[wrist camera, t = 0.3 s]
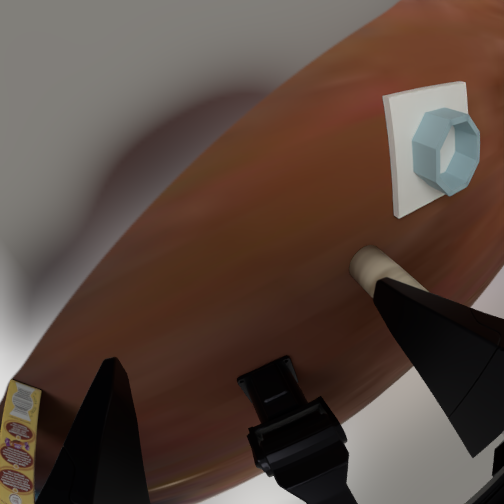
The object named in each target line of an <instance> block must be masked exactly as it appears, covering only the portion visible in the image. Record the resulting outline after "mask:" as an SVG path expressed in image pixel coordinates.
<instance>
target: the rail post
mask: <svg viewBox="0 0 504 504" xmlns="http://www.w3.org/2000/svg"><path fill="white" fill-rule="evenodd" d="M349 272H350V275H351V276H352V277H353V278H354V279H355V280H356V281H357V282H358V283H359V284H360V285H361V286H362V287H363V289H364V290H365V291H366V292H367V293H368V294H369V295H370V296H371V297H372V298H373V295H374V290H375V284H376V281H377V280H379V279H381V278H384V277H389V278H391V279H394V280H397V281H400V282H403V283H405V284H408V285H411V286H414V287H416V288H419V289H422V290H424V291H427V290H426V289H425V288H424V287H423V286H422V285H421V284H420V283H418V282H417V281H416V280H415V279H414V278H413V277H412V276H410V275H409V274H408V273H407V272H406V271H405V270H404V269H402V268H401V267H400V266H399V265H398V264H397V263H395V262H394V261H393V260H392V259H391V258H390V257H388V256H387V255H386V254H385V253H384V252H382V251H381V250H380V249H379V248H378V247H376V246H374V245H368V246H365V247H363V248H362V249H360V250H359V251H358V252H357V253H356V254H355V255H354V257H353V258H352V260H351V263H350V266H349ZM427 292H428V291H427Z"/></svg>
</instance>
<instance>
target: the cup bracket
mask: <svg viewBox="0 0 504 504" xmlns="http://www.w3.org/2000/svg"><path fill="white" fill-rule="evenodd" d="M382 97H383V103H384V110H385V117H386V124H387V132H388V141H389V150H390V161H391V173H392V187H393V208H394V216H396V217H397V218H401V217H403V216H405V215H407V214H409V213H411V212H413V211H415V210H417V209H418V208H420V207H422V206H424V205H426V204H428V203H430V202H432V201H433V200H435V199H437V198H439V197H441V196H443V195H445V194H446V195H448V196H451V195H453V194H455V193H457V192H458V191H460V190H462V189H464V188H466V187H467V186H468V184H469V182H470V180H471V178H472V176H473V174H474V171H475V169H476V167H477V165H478V163H479V154H480V132H479V130H478V129H477V127H476V125H475V124H474V122H473V121H472V119H471V118H470V116H469V115H468V108H467V93H466V82H462V81H457V82H451V83H445V84H439V85H433V86H428V87H422V88H417V89H412V90H407V91H403V92H398V93H394V94H389V95H385V96H382Z"/></svg>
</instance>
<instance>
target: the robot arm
mask: <svg viewBox="0 0 504 504" xmlns="http://www.w3.org/2000/svg"><path fill="white" fill-rule="evenodd" d="M373 301H374V304H375V306H376V308H377V309H378V311H379V313H380V314H381V316H382V318H383V320H384V321H385V323H386V325H387V327H388V328H389V330H390V332H391V334H392V335H393V337H394V338H395V340H396V341H397V343H398V344H399V345H400V347H401V348H402V350H403V351H404V352H405V354H406V355H407V357H408V358H409V360H410V361H411V363H412V364H413V366H414V367H415V368H416V370H417V371H418V373H419V374H420V376H421V377H422V379H423V380H424V382H425V383H426V385H427V386H428V388H429V389H430V391H431V392H432V394H433V395H434V397H435V398H436V400H437V402H438V403H439V405H440V406H441V408H442V409H443V411H444V412H445V414H446V416H447V417H449V418H448V419H449V421H450V422H451V424H452V425H453V427H454V429H455V430H456V432H457V434H458V435H459V437H460V438H461V440H462V442H463V443H464V445H465V447H466V449H467V450H468V452H469V453H470V455H471V456H472V458H474V457H475V456H476V455H477V454H479V453H480V452H481V451H482V450H483V449H484V448H486V447H487V446H488V445H489V444H490V443H491V442H492V441H494V440H495V439H496V438H497V437H498V436H499V435H500V434H501V433H502V434H503V436H504V319H502V318H498V317H496V316H492V315H489V314H486V313H483V312H481V311H478V310H475V309H473V308H469V307H467V306H465V305H462V304H459V303H457V302H454V301H451V300H449V299H446V298H443V297H441V296H438V295H435V294H433V293H430V292H427V291H424V290H422V289H419V288H416V287H414V286H411V285H408V284H405V283H403V282H400V281H397V280H394V279H391V278H389V277H384V278H381V279H379V280H377V281H376V284H375V290H374V295H373ZM237 383H238V384H239V386H240V387H241V389H242V390H243V391H244V393H245V394H246V396H247V397H248V398H249V400H250V401H251V403H253V405H254V408H255V410H256V413H257V415H258V417H259V420H260V422H261V424H260V425H257V426H255V427H250V428H248V429H249V432H250V433H249V434H248V435H247V438H248V440H249V443H250V446H251V448H252V453H253V457H254V461H255V465H256V467H257V468H260V469H262V470H263V471H264V472H266V474H267V475H268V476H269V477H272V476H274V477H275V480H276V482H277V483H278V485H279V486H280V487H282V488H283V489H285V490H287V491H288V492H290V493H291V494H293V495H295V496H296V497H298V498H300V499H301V500H303V501H305V502H306V503H307V504H358V503H357V502H356V500H355V498H354V496H353V495H352V493H351V491H350V489H349V488H348V486H347V484H346V481H347V471H348V459H349V452H348V450H347V449H346V447H345V445H344V443H346V442H347V438H346V435H345V432H344V430H343V428H342V426H341V425H340V423H339V421H338V420H337V418H336V417H335V415H334V414H333V412H332V411H331V410H330V408H329V407H328V405H327V404H326V403H325V401H324V400H323V398H322V397H321V396H320V397H318V398H316V399H315V400H313V401H311V402H309V403H308V402H307V400H306V398H305V396H304V394H303V393H302V391H301V389H300V387H299V385H298V384H297V383H298V379H297V377H296V374H295V371H294V368H293V366H292V363H291V360H290V358H289V357H288V356H284V357H282V358H280V359H278V360H276V361H274V362H272V363H269V364H267V365H265V366H263V367H261V368H259V369H256V370H254V371H252V372H250V373H247V374H245V375H243V376H241V377H239V378H237ZM63 446H64V447H62V449H61V451H60V453H59V456H58V458H57V460H56V462H55V464H54V467H53V469H52V471H51V473H50V475H49V477H48V479H47V481H46V483H45V484H44V486H43V488H42V490H41V492H40V494H39V496H38V498H37V500H36V502H35V504H150V499H149V494H148V489H147V484H146V478H145V472H144V466H143V460H142V453H141V446H140V439H139V431H138V423H137V417H136V413H135V408H134V404H133V399H132V394H131V389H130V384H129V379H128V376H127V373H126V371H125V370H124V368H123V366H122V365H121V363H120V361H119V360H118V358H117V357H112V358H107V359H105V360H104V361H103V362H102V364H101V366H100V368H99V370H98V372H97V374H96V376H95V378H94V380H93V382H92V384H91V386H90V388H89V390H88V392H87V394H86V396H85V398H84V400H83V403H82V405H81V407H80V409H79V411H78V413H77V415H76V417H75V420H74V422H73V424H72V426H71V428H70V431H69V433H68V435H67V437H66V440H65V442H64V444H63ZM492 476H493V478H492V479H491V480H490V481H489V482H488V483H487V484H486V485H485V486H484V487H483V488H482V489H481V490H479V491H478V492H477V493H476V494H475V495H474V496H473V497H472V498H471V499H469V500H468V501H467V502H466V503H465V504H504V440H503V441H502V442H501V443H500V444H499V446H497V447H496V448H495V451H494V463H493V471H492Z"/></svg>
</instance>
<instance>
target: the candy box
mask: <svg viewBox="0 0 504 504" xmlns="http://www.w3.org/2000/svg"><path fill="white" fill-rule="evenodd" d="M41 392H42V391H41V390H39V389H37V388H34V387H31V386H28V385H26V384H23V383H20V382H17V381H15V380H12V379H11V380H10V384H9V388H8V393H7V398H6V402H5V408H4V413H3V419H2V425H1V432H0V504H35V453H36V436H37V423H38V413H39V405H40V398H41Z"/></svg>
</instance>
